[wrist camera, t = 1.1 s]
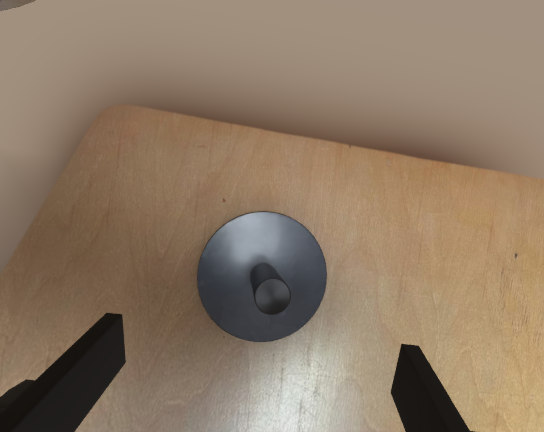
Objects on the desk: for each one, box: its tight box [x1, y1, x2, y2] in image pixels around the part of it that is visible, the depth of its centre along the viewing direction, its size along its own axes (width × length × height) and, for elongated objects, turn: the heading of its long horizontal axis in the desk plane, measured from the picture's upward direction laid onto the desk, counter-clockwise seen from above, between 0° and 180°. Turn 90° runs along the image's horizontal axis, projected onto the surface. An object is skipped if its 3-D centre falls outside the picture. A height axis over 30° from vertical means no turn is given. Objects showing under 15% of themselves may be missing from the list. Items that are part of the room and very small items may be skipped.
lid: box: [197, 212, 327, 342], centre depth 27 cm, size 14×14×10 cm
